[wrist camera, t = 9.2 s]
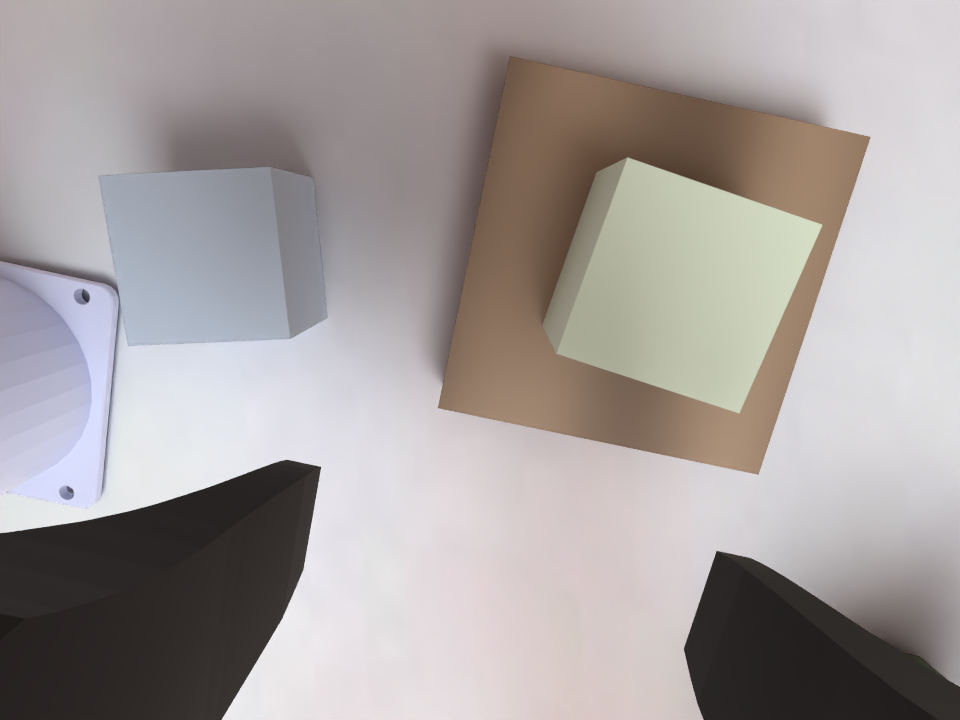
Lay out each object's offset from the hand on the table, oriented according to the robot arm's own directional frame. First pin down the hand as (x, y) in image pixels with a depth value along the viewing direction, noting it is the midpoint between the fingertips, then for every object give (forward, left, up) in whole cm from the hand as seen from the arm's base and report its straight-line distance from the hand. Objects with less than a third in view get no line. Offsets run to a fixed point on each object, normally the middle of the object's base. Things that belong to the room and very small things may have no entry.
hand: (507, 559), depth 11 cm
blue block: (-9, +3, -11) cm, 14 cm away
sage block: (+3, +5, -8) cm, 10 cm away
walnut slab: (+3, +5, -11) cm, 12 cm away
